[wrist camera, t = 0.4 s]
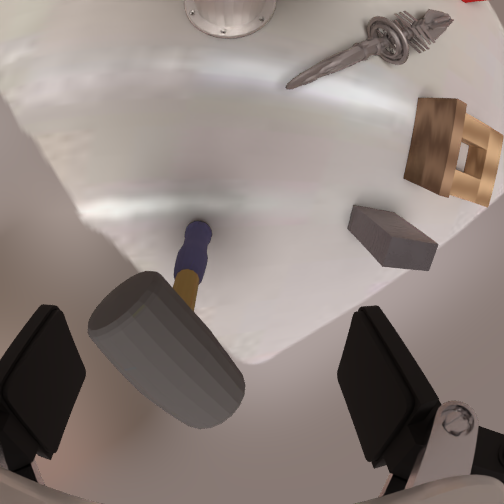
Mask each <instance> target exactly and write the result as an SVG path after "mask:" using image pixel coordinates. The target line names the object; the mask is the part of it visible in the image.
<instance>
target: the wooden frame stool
mask: <svg viewBox="0 0 504 504" xmlns="http://www.w3.org/2000/svg"><path fill="white" fill-rule="evenodd" d="M466 106H467V104H466V103H464V102H462V101H461V100H459V99H452V98H418V104H417V111H416V117H415V123H414V129H413V135H412V140H411V145H410V150H409V155H408V160H407V165H406V169H405V173H404V179H406V180H408V181H410V182H413V183H415V184H417V185H419V186H421V187H423V188H425V189H427V190H430V191H432V192H434V193H436V194H438V195H440V196H444V197H447V198H449V195H452V196H456V197H459V198H462V199H465V200H468V201H471V202H474V203H477V204H480V205H482V206H485V207H488V206H489V202H490V198H491V195H492V191H493V187H494V183H495V178H496V174H497V169H498V164H499V159H500V154H501V148H502V142H503V135H502V134H500V133H499V132H497V131H496V130H494V129H492V128H491V127H489V126H488V125H486V124H484V123H483V122H481V121H479V120H477V119H476V118H474V117H472V116H470V115H469V114H467V113H466ZM461 142H463V143H465V144H467V145H469V150H468V155H467V160H466V165H465V169H464V173H463V172H460V171H458V170H456V165H457V160H458V155H459V150H460V145H461Z"/></svg>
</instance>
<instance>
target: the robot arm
mask: <svg viewBox="0 0 504 504" xmlns="http://www.w3.org/2000/svg"><path fill="white" fill-rule="evenodd" d="M184 6H185V11H186V14H187V16H188V18H189V20H190V22H191V23H192V24H193V25H194V26H195V27H196V28H198V29H199V30H200V31H202V32H204V33H206V34H208V35H211V36H215V37H220V38H237V37H243V36H246V35H249V34H252V33H254V32H256V31H258V30H259V29H261V28H262V27H263V26H265V24H266V23H267V22H268V21H269V20H270V18H271V17H272V15H273V13H274V10H275V7H276V0H185V1H184ZM193 13H194V15H191V14H193ZM260 20H263V22H261V21H260ZM222 32H226V34H222ZM85 376H86V370H85V367H84V365H83V362H82V360H81V358H80V355H79V353H78V350H77V348H76V346H75V343H74V341H73V338H72V336H71V333H70V330H69V328H68V325H67V322H66V320H65V316H64V314H63V312H62V311H61V310H60V309H59V308H58V307H57V306H55V305H44V304H43V305H41V306H40V307H39V308H38V309H37V310H36V312H35V313H34V314H33V315H32V317H31V318H30V319H29V321H28V322H27V323H26V325H25V326H24V327H23V329H22V330H21V331H20V333H19V334H18V335H17V337H16V338H15V339H14V341H13V342H12V344H11V345H10V347H9V348H8V349H7V351H6V352H5V354H4V355H3V357H2V358H1V360H0V504H102V503H98V502H94V501H90V500H86V499H83V498H80V497H76V496H73V495H70V494H67V493H64V492H61V491H58V490H55V489H53V488H50V487H47V486H45V484H44V482H43V479H42V477H41V474H40V472H39V469H38V467H37V464H36V461H35V455H36V454H38V456H41V457H44V458H46V459H49V460H51V458H52V455H53V453H56V452H57V450H58V447H59V444H60V441H61V438H62V435H63V433H64V430H65V427H66V425H67V422H68V419H69V417H70V414H71V411H72V409H73V406H74V404H75V401H76V399H77V396H78V394H79V391H80V389H81V387H82V384H83V382H84V379H85ZM337 378H338V382H339V384H340V387H341V390H342V393H343V396H344V398H345V401H346V404H347V407H348V410H349V412H350V415H351V418H352V420H353V424H354V426H355V429H356V432H357V435H358V438H359V441H360V444H361V446H362V450H363V452H364V455H365V458H366V460H367V461H368V462H372V465H373V467H374V468H378V467H381V466H385V465H387V467H388V470H389V472H390V474H389V476H388V478H387V480H386V482H385V485H384V487H383V489H382V491H381V493H380V495H379V497H378V498H375V499H371V500H368V501H364V502H360V503H355V504H504V434H500V433H498V432H495V431H492V430H489V429H486V428H483V427H480V426H479V424H478V418H477V415H476V413H475V411H474V410H473V409H472V408H471V407H470V406H469V405H467V404H466V403H463V402H461V401H448V402H445V403H443V404H442V405H441V403H440V401H439V398H438V396H437V395H436V393H435V391H434V390H433V388H432V386H431V385H430V383H429V382H428V380H427V378H426V377H425V375H424V373H423V372H422V370H421V369H420V367H419V366H418V364H417V362H416V361H415V359H414V358H413V356H412V355H411V353H410V352H409V350H408V349H407V347H406V346H405V344H404V342H403V341H402V339H401V338H400V336H399V335H398V333H397V332H396V330H395V329H394V327H393V326H392V324H391V323H390V322H389V320H388V319H387V317H386V316H385V314H384V313H383V312H382V310H381V309H380V307H379V306H364V307H360V308H359V310H358V312H354V314H353V317H352V321H351V326H350V329H349V333H348V336H347V340H346V344H345V347H344V351H343V354H342V358H341V361H340V365H339V368H338V371H337Z"/></svg>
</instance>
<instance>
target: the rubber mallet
mask: <svg viewBox="0 0 504 504" xmlns="http://www.w3.org/2000/svg"><path fill="white" fill-rule="evenodd" d="M211 236H212V231H211V229H210V227H209V226H208V225H207V224H206V223H204V222H200V221H194V222H192V223H191V224H189V225H188V226H187V228H186V231H185V241H184V244H183V246H182V247H181V249H180V250H179V252H178V255H177V258H176V263H175V268H174V279H175V282H174V285H173V288H172V287H171V286H170V284H169V283H168V282H167V281H166V280H165V279H164V278H163V276H162V275H161V274H159V273H158V272H153V271H145V272H141V273H138V274H136V275H134V276H132V277H130V278H129V279H127V280H126V281H124V282H123V283H122V284H120V285H119V286H118V287H116V288H115V289H114V290H113V291H112V292H111V293H109V295H107V296H106V297H105V298H104V299H103V300H102V302H101V303H100V304H99V305H98V306H97V307H96V309H95V310H94V312H93V313H92V315H91V317H90V319H89V322H88V334H89V337H90V338H91V339H92V341H93V342H94V343H95V344H96V345H97V347H98V348H99V349H100V350H101V351H102V353H103V354H104V355H105V356H106V357H107V358H108V360H109V361H110V362H111V363H112V364H113V365H114V366H115V367H116V369H117V370H118V371H119V372H120V373H121V374H122V375H123V376H124V377H125V378H126V379H127V380H128V381H129V382H130V383H131V384H132V385H133V386H134V387H135V388H136V389H137V390H138V391H139V392H140V393H141V394H143V395H144V396H145V397H147V398H148V399H149V400H151V401H152V402H153V403H155V404H156V405H157V406H159V407H160V408H162V409H163V410H164V411H166V412H167V413H169V414H170V415H172V416H173V417H175V418H176V419H178V420H180V421H181V422H183V423H184V424H186V425H188V426H190V427H194V428H198V429H205V428H211V427H214V426H216V425H219V424H221V423H223V422H224V421H225V420H227V419H228V418H229V417H231V416H232V415H233V413H234V412H235V411H236V410H237V408H238V407H239V406H240V403H241V401H242V399H243V397H244V392H245V382H244V378H243V375H242V373H241V372H240V370H239V369H238V368H237V366H236V365H235V363H234V362H233V361H232V359H231V358H230V356H229V355H228V354H227V352H226V351H225V350H224V348H223V347H222V346H221V344H220V343H219V342H218V340H217V339H216V338H215V336H214V335H213V334H212V332H211V331H210V330H209V328H208V327H207V326H206V325H205V324H204V323H203V322H202V320H201V319H200V318H199V317H198V316H197V315H196V314H195V313H194V307H195V301H196V296H197V290H198V285H199V284H200V283H201V281H202V279H203V276H204V273H205V269H206V265H207V259H208V257H207V246H208V244H209V243H210V240H211Z"/></svg>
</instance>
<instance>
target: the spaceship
mask: <svg viewBox="0 0 504 504" xmlns="http://www.w3.org/2000/svg"><path fill="white" fill-rule="evenodd" d="M403 12H404V13H405V14H407V15H408V16H409V17H410V18H412V19H413V20H414V22H413V21H412V20H411V19H409V18H408V17H407V16H405V15H404V14H403V13H401V12H399V14H401V15H402V16H403V17H404V18H406V19H407V20H408V21H409V22H410V23H412V25H411V24H410V23H408V22H407V21H406V20H404V19H403V18H402V17H400V16H399V15H398V14H394V15H395V16H397V17H398V18H399V20H400V21H401V23H402V24H403V25H404V26H405V28H403V27H402V25H401V24H400V23H399V22H398V21H397V20H394V21H395V22H396V23H397V24H398V26H399V27H400V28H401V29H400V28H399V27H398V26H397V25H396V24H395V23H394V22H392V21H391V20H389V19H387V18H384V17H380V16H377V17H373V18H372V19H371V20H370V21H369V23H368V26H367V32H368V37H369V38H367V39H366V40H365V41H363V42H361V43H355V44H354V45H353V47H352V48H350V49H348V50H345V51H342V52H339V53H337V54H335V55H332V56H330V57H328V58H326V59H324V60H322V61H321V62H319V63H317V64H316V65H314V66H312V67H311V68H309V69H308V70H306V71H304V72H302V73H300V74H299V75H298V76H296V77H295V78H293V79H292V80H291V81H290V82H289V83H288V84H287V85H286V88H287V89H294V88H297V87H299V86H302V85H305V84H308V83H311V82H313V81H315V80H317V78H320V77H322V76H325V75H329V74H330V73H331V74H332V73H334V72H337V71H340V70H342V69H344V68H346V67H349V66H352V65H354V64H356V63H357V62H360V61H366V60H367V59H368V57H369V56H371V55H380V56H381V57H382V58H383V59H385V60H386V61H387V62H389V63H392V64H396V65H401V64H403V63H405V62H406V60H407V59H408V56H409V46H408V44H409V45H410V46H412V47H413V48H414V49H415V50H416V51H417V52H418V53H421V51H420V50H419V49H418V48H417V47H415V46H414V45H413V44H412V43H411V42H410V41H412V42H413V43H414V44H416V45H417V46H418V47H419V48H420V49H421V50H423V51H426V50H425V49H424V48H423V47H422V46H420V45H419V44H418V43H417V42H416V41H415V40H414V39H413V37H414V38H415V39H416V40H417V41H418V42H419V43H421V44H422V45H423V46H424V47H425V48H426V49H429V48H428V47H427V45H426V43H425V42H424V40H423V39H422V37H421V36H420V35H422V36H423V37H424V39H425V40H426V41H427V42H428V44H429V45H430V44H431V43H430V41H429V40H428V38H427V37H426V35H425V34H424V33H423V31H424V32H425V33H426V34H427V36H428V37H429V38H430V39H431V41H432V42H433V43H435V41H434V40H436V39H437V38H438V37H439V36H440V35H441V34H442V33H443V32H444V31H445V30H446V29H447V27H448V26H449V25H450V24H451V23H452V21H454V20H452V19H451V17H450V16H449V14H445V13H443V12H440V11H435V10H430V9H428V11H427V13H426V14H425V16H424V18H423V19H422V20H421V19H419V20H417V19H415V18H414V17H413V16H412V15H410V14H409V13H408V12H406V11H403ZM376 21H377V22H376ZM407 25H408V26H409V27H408V26H407ZM379 28H381V29H384V30H383V32H384V31H387V34H386V33H384V34H383V33H381V32H380V31H379V30H378V29H379ZM401 30H402V31H401ZM378 33H379V34H380V35H381V36H382V37H380V38H379V37H378ZM388 34H389V35H388ZM394 44H395V45H396V47H395V46H394ZM388 46H389V50H390V49H391V48H392V51H393V49H394V50H395V51H396V52H395V54H394V53H392V52H391V51H390V52H389V51H388V50H387V49H386V47H388ZM385 49H386V50H385ZM394 59H397V60H394Z"/></svg>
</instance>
